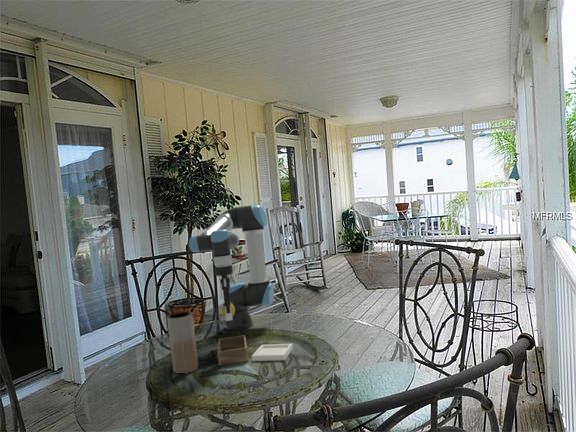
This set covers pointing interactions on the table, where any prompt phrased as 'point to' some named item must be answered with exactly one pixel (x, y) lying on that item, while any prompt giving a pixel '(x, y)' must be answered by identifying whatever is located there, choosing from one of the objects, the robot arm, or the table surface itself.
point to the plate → (272, 352)
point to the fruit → (231, 309)
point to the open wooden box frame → (232, 350)
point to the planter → (182, 342)
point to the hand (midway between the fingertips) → (229, 318)
